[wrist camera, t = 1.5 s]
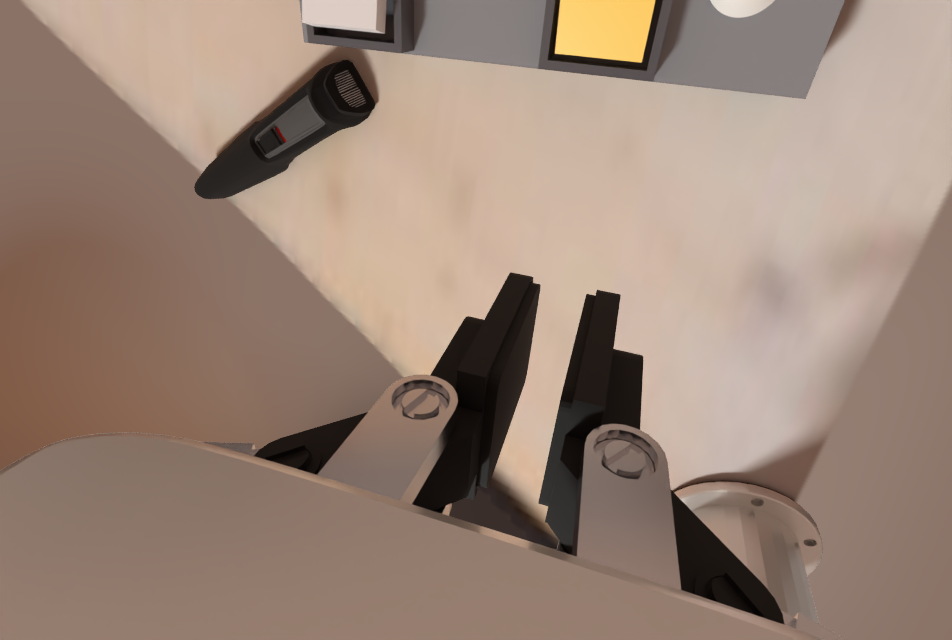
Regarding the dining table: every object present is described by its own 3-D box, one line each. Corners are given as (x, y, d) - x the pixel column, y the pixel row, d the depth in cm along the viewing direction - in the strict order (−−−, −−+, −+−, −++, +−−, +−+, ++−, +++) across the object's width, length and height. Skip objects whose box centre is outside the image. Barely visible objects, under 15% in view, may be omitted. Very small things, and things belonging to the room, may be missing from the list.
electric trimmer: (208, 158, 39) (176, 169, 36) (349, 53, 31) (321, 58, 29) (238, 201, 40) (210, 215, 38) (382, 111, 33) (357, 121, 30)
